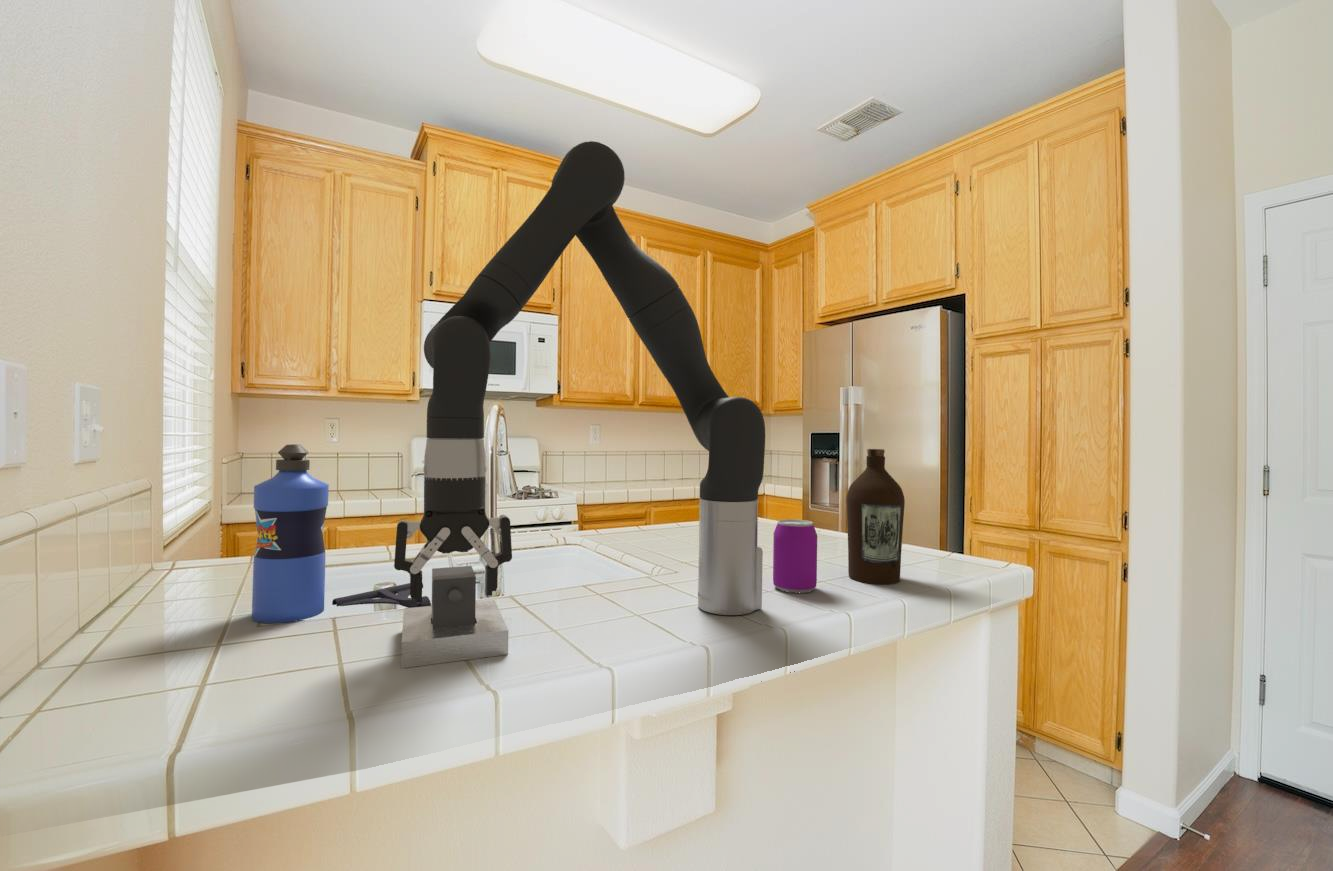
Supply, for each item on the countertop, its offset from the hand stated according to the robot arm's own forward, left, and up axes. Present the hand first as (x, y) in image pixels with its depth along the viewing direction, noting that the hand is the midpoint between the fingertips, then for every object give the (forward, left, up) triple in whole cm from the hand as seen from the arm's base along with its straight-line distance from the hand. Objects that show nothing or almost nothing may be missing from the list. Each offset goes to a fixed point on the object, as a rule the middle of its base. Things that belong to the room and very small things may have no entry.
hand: (454, 598), depth 77 cm
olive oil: (-77, -8, -6) cm, 78 cm away
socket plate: (0, 0, -6) cm, 6 cm away
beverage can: (-58, -7, -6) cm, 59 cm away
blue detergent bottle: (+22, -21, -6) cm, 31 cm away
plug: (0, 0, -5) cm, 5 cm away
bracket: (+7, -21, -7) cm, 23 cm away
